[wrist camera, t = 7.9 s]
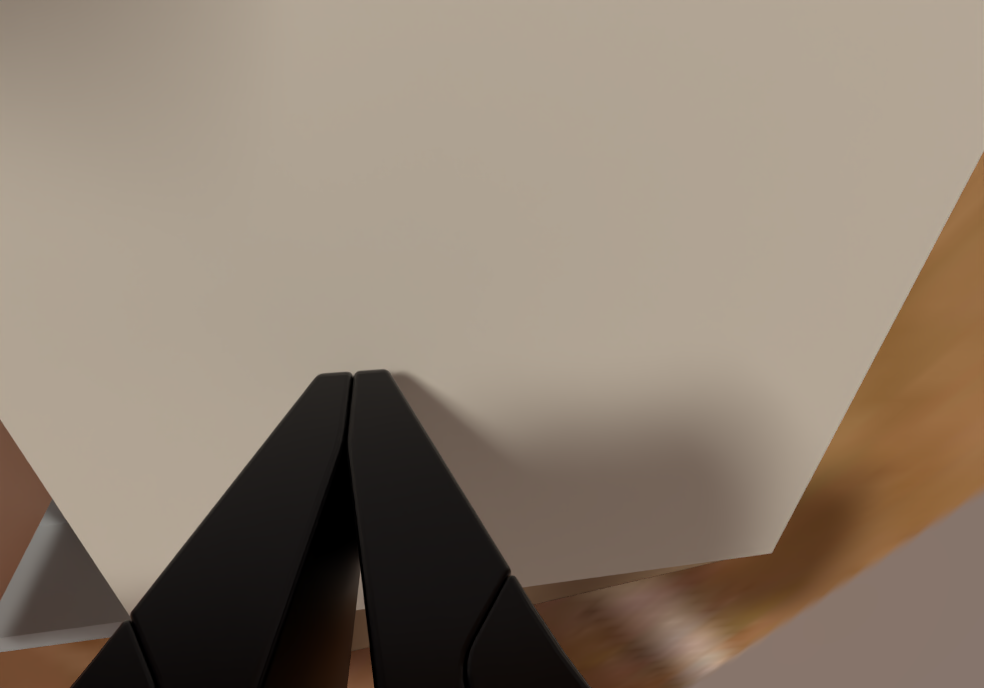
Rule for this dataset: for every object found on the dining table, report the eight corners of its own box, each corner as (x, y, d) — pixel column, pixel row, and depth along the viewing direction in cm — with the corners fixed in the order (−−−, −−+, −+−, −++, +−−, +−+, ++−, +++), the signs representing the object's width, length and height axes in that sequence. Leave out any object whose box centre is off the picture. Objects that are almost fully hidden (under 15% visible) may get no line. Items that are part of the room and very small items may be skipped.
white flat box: (860, -129, 9) (1131, -131, 6) (690, 416, 15) (771, 553, 12) (-62, -162, 7) (-403, -194, 4) (195, 466, 14) (145, 639, 11)
